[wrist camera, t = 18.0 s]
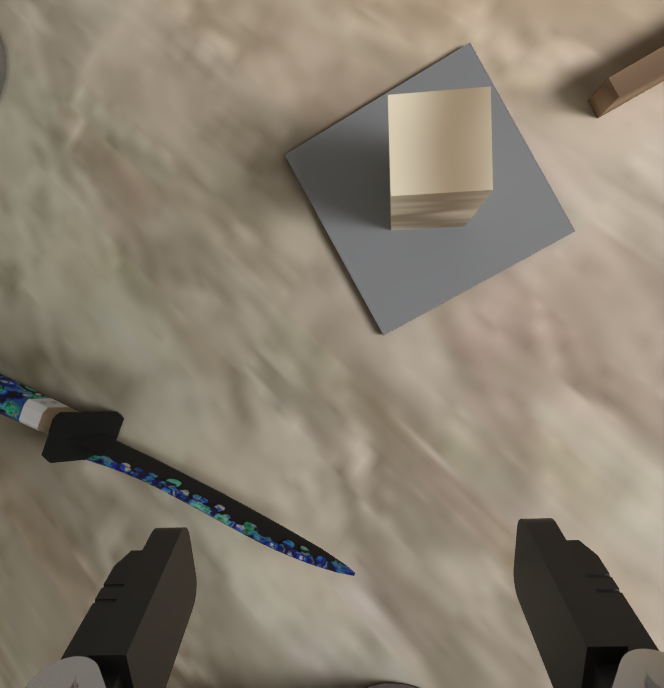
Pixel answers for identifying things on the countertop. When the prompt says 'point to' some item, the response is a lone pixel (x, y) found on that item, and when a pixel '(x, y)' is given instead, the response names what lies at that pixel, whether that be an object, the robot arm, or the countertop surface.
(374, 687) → the pillar candle
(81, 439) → the knife
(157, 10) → the countertop surface
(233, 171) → the countertop surface
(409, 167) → the ash block
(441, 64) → the pad
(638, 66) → the stall
